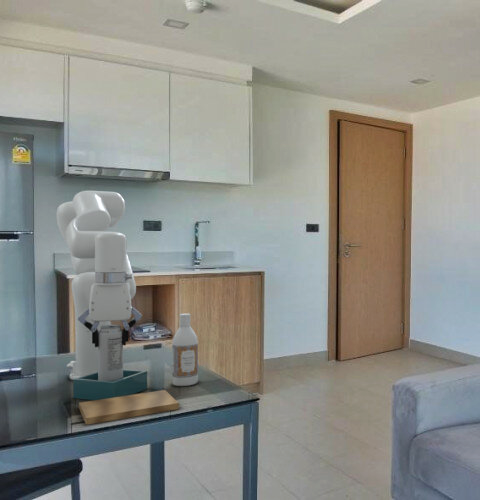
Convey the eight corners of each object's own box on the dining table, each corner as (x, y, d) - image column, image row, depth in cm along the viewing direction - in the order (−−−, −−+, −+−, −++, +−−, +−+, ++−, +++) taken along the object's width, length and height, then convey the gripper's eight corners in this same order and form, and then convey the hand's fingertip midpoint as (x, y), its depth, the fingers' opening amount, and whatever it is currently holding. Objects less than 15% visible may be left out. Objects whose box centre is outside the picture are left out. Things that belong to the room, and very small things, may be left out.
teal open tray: (73, 398, 138) (73, 379, 138) (109, 385, 150) (109, 368, 150) (113, 402, 135) (113, 382, 135) (147, 388, 147) (147, 370, 147)
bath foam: (175, 388, 148) (175, 316, 148) (169, 382, 154) (169, 313, 153) (200, 384, 152) (200, 314, 151) (194, 379, 158) (194, 312, 157)
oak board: (86, 424, 118) (85, 418, 118) (78, 408, 129) (78, 402, 129) (178, 408, 129) (179, 402, 129) (164, 395, 141) (164, 389, 141)
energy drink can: (114, 377, 148) (114, 323, 147) (127, 380, 144) (127, 325, 144) (93, 382, 142) (93, 326, 142) (106, 386, 139) (106, 329, 139)
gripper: (145, 276, 149) (145, 340, 150) (75, 278, 142) (75, 344, 143) (146, 279, 143) (145, 345, 143) (72, 280, 135) (72, 350, 136)
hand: (110, 344), depth 143 cm, fingers closed on energy drink can, 6 cm apart
